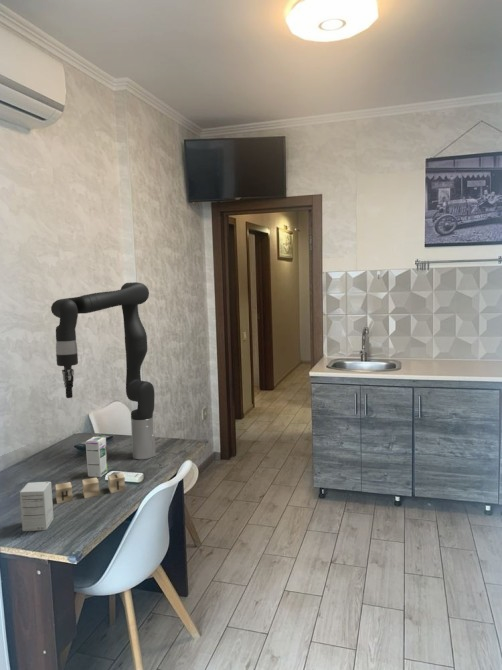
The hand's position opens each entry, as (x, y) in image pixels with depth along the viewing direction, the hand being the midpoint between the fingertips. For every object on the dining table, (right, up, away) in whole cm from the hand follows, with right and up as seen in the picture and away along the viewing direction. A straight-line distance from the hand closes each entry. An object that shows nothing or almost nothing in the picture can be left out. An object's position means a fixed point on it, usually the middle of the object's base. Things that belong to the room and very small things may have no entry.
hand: (69, 397), depth 185 cm
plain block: (+12, -33, -11) cm, 37 cm away
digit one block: (+20, -33, -7) cm, 39 cm away
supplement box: (+3, -36, -33) cm, 49 cm away
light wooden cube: (+4, -34, -15) cm, 37 cm away
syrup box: (+9, -32, +7) cm, 33 cm away
